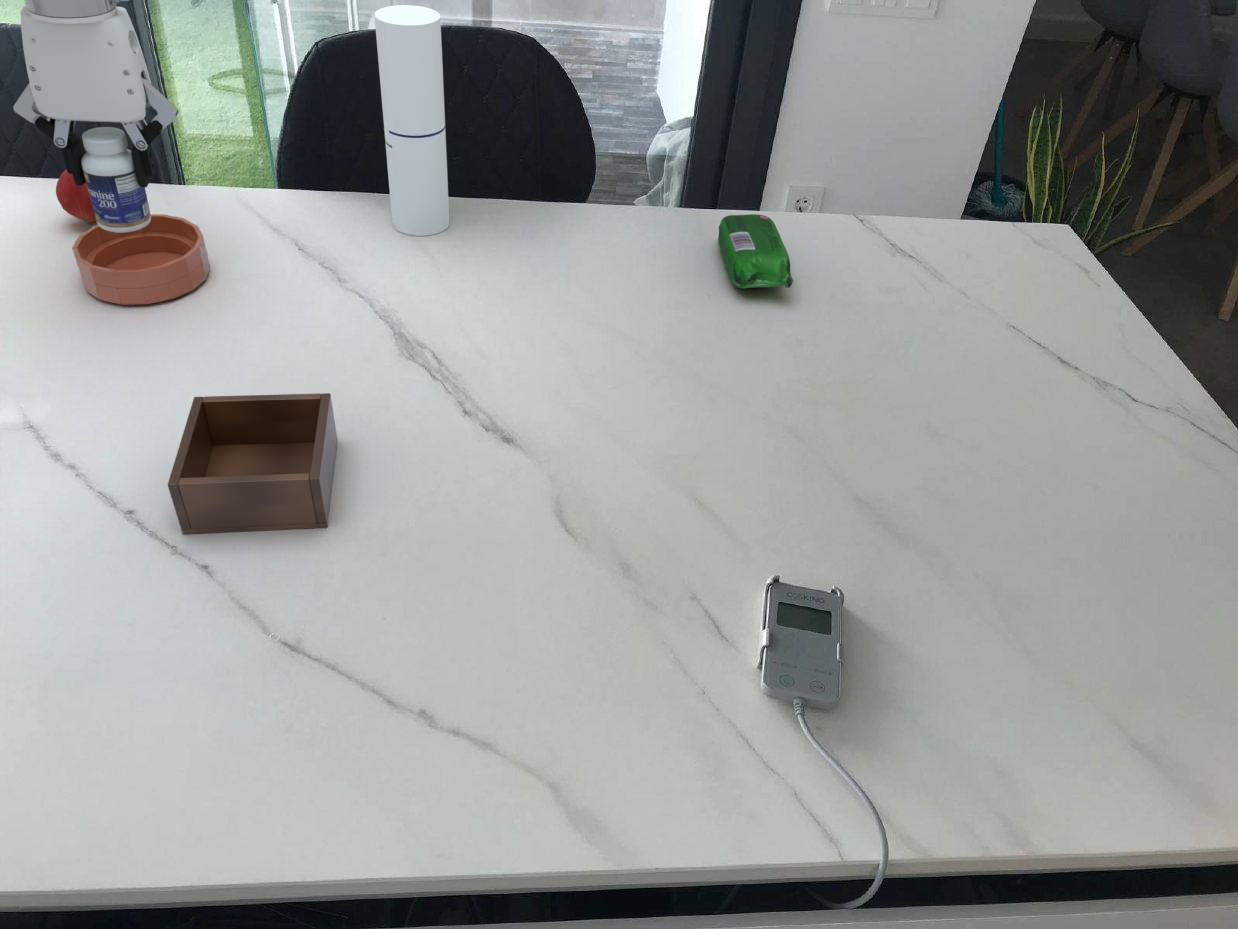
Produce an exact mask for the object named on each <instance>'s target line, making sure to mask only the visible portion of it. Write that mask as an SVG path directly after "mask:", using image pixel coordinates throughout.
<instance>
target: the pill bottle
mask: <svg viewBox="0 0 1238 929" xmlns="http://www.w3.org/2000/svg"><path fill="white" fill-rule="evenodd" d="M81 138H82V142H83V146H84V149H85V154H84V156H83V157H82V160H81V165H82V169H83V173H84V177H85V180H86V184H87V188H88V192H89V195H90V199H91V203H92V206H93V210H94V214H95V217H96V220H97V223H96V224H97V225H99V226H100V227H101V228H102V229H104V230H107V231H110V232H116V233H125V232H132V231H136V230H139V229H142V228H144V227H146V226H147V225H148V224H149V223H150V221H151V214H152V213H151V209H150V205H149V200H148V195H147V191H146V187H141V186H139V185H138V181H137V177H136V173H135V168H134V164H133V160H132V155H131V149H128V148H129V142H128V139H127V135H126V133H125V131H124V130H123V129H120V128H117V127H113V126H100V127H94V128H93V127H92V128H90V129H87V130H86V131H83V133H82V135H81Z"/></svg>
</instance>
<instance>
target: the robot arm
mask: <svg viewBox="0 0 1238 929" xmlns="http://www.w3.org/2000/svg"><path fill="white" fill-rule="evenodd" d="M23 2H24V6H23V7H22V9H21V10H20V30H21V31H20V32H21V39H22V48H23V55H24V61H25V62H24V63H25V66H26V73H27V77H28V81H29V83H28V84H27V85H26V87H25V88H24V90H23V91H22V93H21V94H20V96H19V97H18V99H17V100H16V101H15V103H14V105H13V107H12V108H13V112H15V114H17V115H19V116H20V117H22V118H23V119H25V120H26V121H28V123H30V124H31V123H32V124H33V125H34V126H35V127H36V128H37V130H39V131H40V132H42V133H43V134H45V135H46V136H47V137H49V139H51V140H52V141H53V143H54V145H55V146H56V147H57V148H60V151H61V154H62V157H63V161H64V165H65V169H67V172H68V173H69V174H72V175H73V178H74V182H75V185H78V186H82V185H83V184H84V183H85V182H86V180H85V177H84V173H83V169H82V165H81V160H82V157H83V156H84V154H85V153H86V150H85V148H84V144H83V139H81V137H80V136H77V134H76V133H75V132H76V123H77V122H94V123H97V122H98V123H99V122H100V123H121V125H122V126H123V128H124V130H125V132H126V133H127V135H128V136H129V138H130V140H131V142H132V145H133V147H132V149H130V151H131V155H132V160H133V164H134V168H135V173H136V177H137V181H138V185H139V186H141V187H145V188H148V186H149V184H150V182H151V180H152V178H153V177H155V176H156V173H157V169H156V168H157V167H156V164H155V158H154V154H153V150H152V146H151V145H152V143H153V142H154V140H155V139H156V138H157V137H158V136H159V135H161V133H162V131H163V130H165V129H166V128H167V127H168V126H169V125H170V124H172V122H173V121H175V120H176V118H177V117H178V114H179V109H178V108H177V106H175V105H174V103H172V102H171V101H170V100H169V99H168V98H167V97H165V96H164V94H162V92H160V91H159V90H158V89H157V88H156V87H155V86H153V84H152V82H151V76H150V73H149V70H148V67H147V63H146V59H145V57H144V54H143V50H142V46H141V43H140V41H139V38H138V35H137V33H136V30H135V27H134V25H133V23H132V20H131V18H130V15H129V13H128V11H127V9H126V8H125V7H124V6H123V7H122V6H117V5H118V3H122V2H130V0H24V1H23ZM149 107H152V109H153V110H155V111H156V112H157V115H155V116H154V117H153V118H152V119H151V120H150V121H149V122H147V121H146V119H145V118H146V116H147V109H146V108H149Z"/></svg>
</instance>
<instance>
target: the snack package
mask: <svg viewBox="0 0 1238 929" xmlns="http://www.w3.org/2000/svg"><path fill="white" fill-rule="evenodd" d="M717 242H718V247H719V249H720V252H721V255H722V258H723V263H724V266H725V269H726V272H727V273H728V276H729V279H730V281H731V282H732V284H733V285H735V287H736V288H738V289H751V288H753V289H754V288H775V287H778V286H783V287H784V288H785V289H786V288H787V289H790V288H791V286H792V284H793V283H794V281H795V280H794V279H793V277H792V274H791V261H790V256H789V253H788V251H787V248H786V246H785V244H784V242H783V239H782V237H781V235H780V232H779V229H778V228H777V225H776V224H775V222H774V221H773V220H772V219H771V217H769V216H766V215H763V214H756V213H755V214H754V213H753V214H752V213H749V214H731V215H725V216H724V217H722V219H721V221H720V223H719V225H718V238H717Z"/></svg>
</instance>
